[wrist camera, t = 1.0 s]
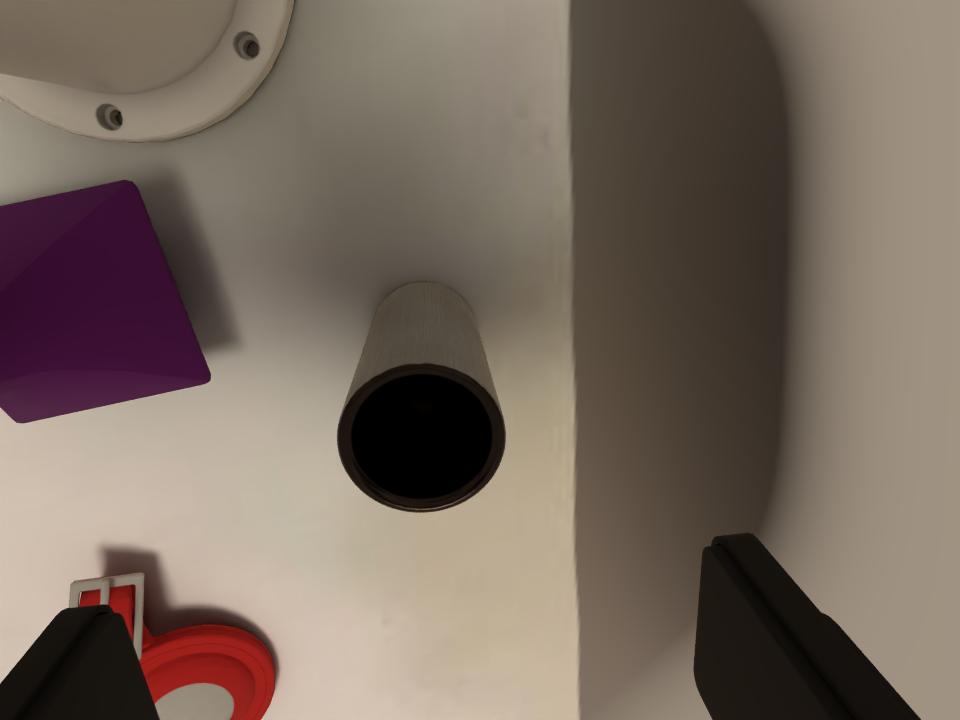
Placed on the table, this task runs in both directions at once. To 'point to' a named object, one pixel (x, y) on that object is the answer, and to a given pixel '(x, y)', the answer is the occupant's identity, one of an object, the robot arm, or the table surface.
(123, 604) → the tracker holder
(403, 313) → the gray hollow tube
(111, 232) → the perfume bottle
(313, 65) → the table surface
